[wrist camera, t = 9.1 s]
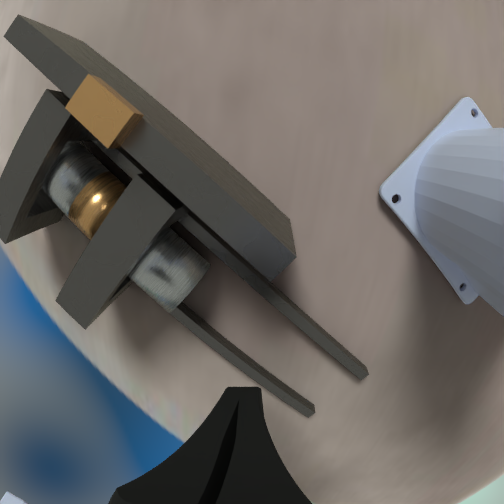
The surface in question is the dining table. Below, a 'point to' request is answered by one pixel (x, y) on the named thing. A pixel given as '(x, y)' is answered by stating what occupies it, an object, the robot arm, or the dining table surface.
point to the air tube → (98, 207)
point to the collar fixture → (145, 195)
